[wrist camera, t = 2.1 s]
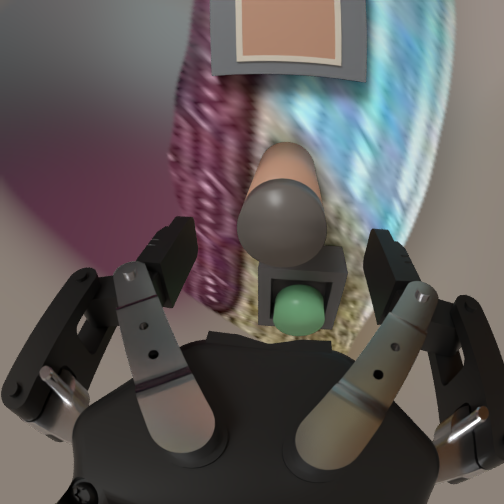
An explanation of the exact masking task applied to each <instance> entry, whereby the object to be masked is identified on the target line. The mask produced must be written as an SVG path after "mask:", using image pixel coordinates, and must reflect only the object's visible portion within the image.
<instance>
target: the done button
mask: <svg viewBox="0 0 504 504" xmlns="http://www.w3.org/2000/svg"><path fill="white" fill-rule="evenodd" d="M324 321H325V316H324V301H323V296H322V294H321V293H320V292H319V291H318V290H317V289H315V288H314V287H311V286H308V285H302V284H297V285H291V286H288V287H286V288H284V289H282V290H281V291H280V292H279V293H278V294H277V296H276V298H275V307H274V316H273V322H274V325H275V326H276V328H277V329H278V330H280V331H281V332H283V333H285V334H288V335H292V336H305V335H309V334H312V333H315V332H316V331H318V330H319V329H320V328H321V327H322V326H323V324H324Z"/></svg>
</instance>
